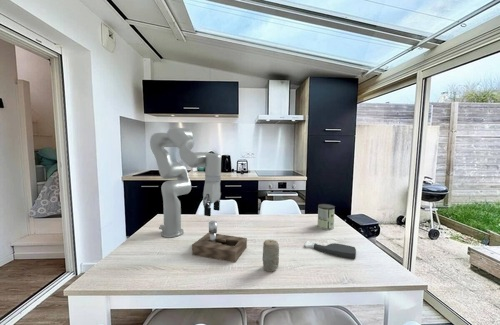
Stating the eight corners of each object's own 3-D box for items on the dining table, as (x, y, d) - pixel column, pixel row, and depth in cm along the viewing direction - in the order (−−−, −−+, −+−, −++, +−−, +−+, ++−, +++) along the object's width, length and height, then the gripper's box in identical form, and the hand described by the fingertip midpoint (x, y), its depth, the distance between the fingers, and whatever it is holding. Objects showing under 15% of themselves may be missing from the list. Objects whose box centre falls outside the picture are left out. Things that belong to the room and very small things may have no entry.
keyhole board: (192, 254, 109) (192, 244, 109) (208, 241, 124) (208, 232, 124) (235, 262, 103) (235, 251, 102) (246, 247, 118) (246, 238, 117)
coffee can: (319, 223, 157) (320, 203, 156) (335, 226, 151) (336, 205, 150) (315, 227, 148) (316, 206, 147) (331, 231, 143) (332, 208, 142)
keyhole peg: (205, 251, 113) (205, 223, 112) (210, 246, 118) (210, 220, 117) (215, 253, 111) (215, 224, 110) (220, 248, 117) (220, 221, 116)
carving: (259, 269, 97) (259, 241, 96) (270, 263, 103) (271, 236, 102) (270, 275, 93) (271, 246, 92) (281, 268, 98) (282, 241, 97)
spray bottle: (355, 261, 106) (302, 250, 117) (356, 251, 116) (307, 242, 127) (355, 255, 106) (302, 245, 117) (356, 246, 116) (307, 237, 127)
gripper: (213, 175, 121) (213, 207, 123) (196, 180, 105) (196, 217, 107) (227, 177, 119) (226, 209, 121) (211, 182, 103) (210, 219, 104)
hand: (212, 212), depth 114 cm, fingers open, 9 cm apart
